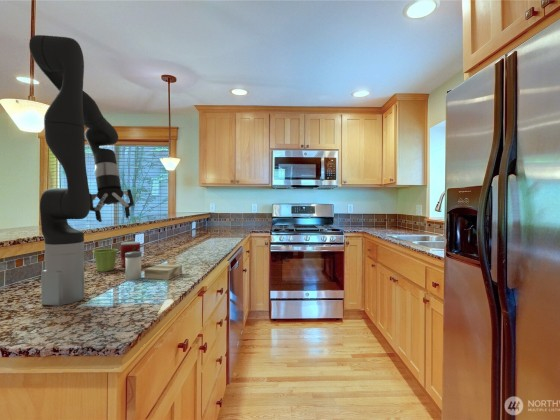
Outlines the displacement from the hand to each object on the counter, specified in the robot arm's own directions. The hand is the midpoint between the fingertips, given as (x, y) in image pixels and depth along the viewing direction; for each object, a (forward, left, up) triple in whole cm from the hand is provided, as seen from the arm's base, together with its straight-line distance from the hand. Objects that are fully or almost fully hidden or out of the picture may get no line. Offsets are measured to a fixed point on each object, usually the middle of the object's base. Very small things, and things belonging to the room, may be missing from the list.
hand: (114, 219), depth 101 cm
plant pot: (+16, +19, -23) cm, 34 cm away
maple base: (+13, -11, -23) cm, 29 cm away
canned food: (+25, +14, -23) cm, 37 cm away
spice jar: (+7, -2, -23) cm, 24 cm away
